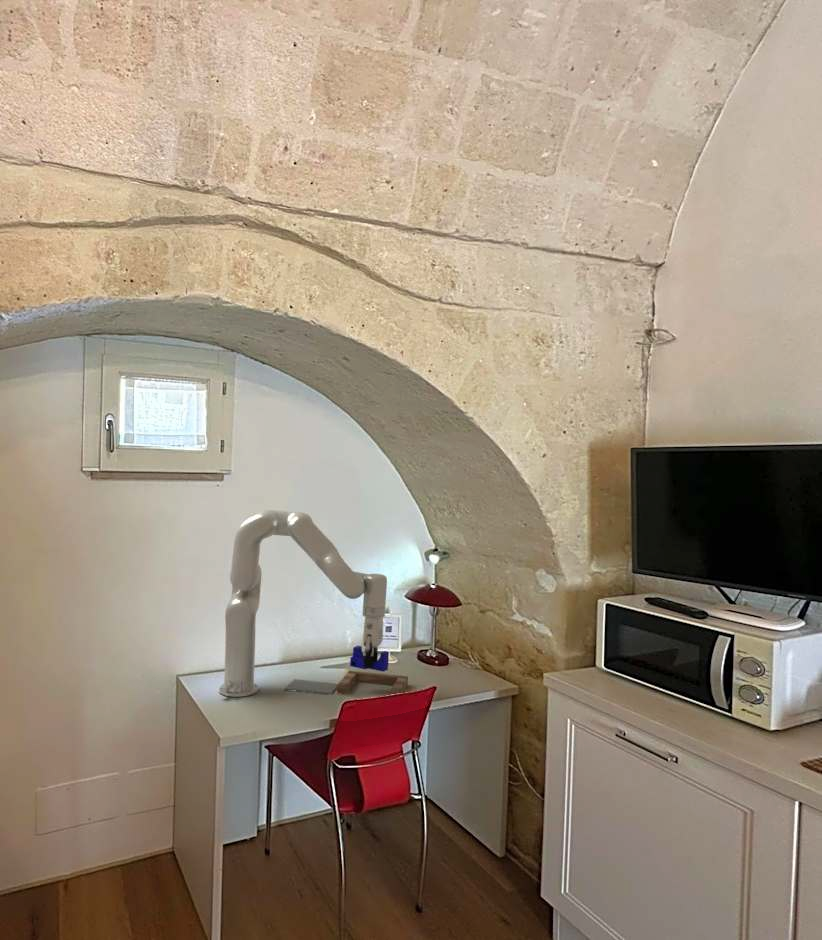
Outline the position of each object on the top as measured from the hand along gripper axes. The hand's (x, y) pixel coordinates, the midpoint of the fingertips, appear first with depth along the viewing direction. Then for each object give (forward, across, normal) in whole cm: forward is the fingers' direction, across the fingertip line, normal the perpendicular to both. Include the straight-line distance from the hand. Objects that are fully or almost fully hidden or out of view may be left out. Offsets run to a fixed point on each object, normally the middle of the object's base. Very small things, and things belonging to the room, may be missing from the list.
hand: (370, 664), depth 244 cm
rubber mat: (+10, -2, +19) cm, 21 cm away
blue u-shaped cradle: (+1, 0, 0) cm, 1 cm away
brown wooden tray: (+9, +3, -1) cm, 10 cm away
